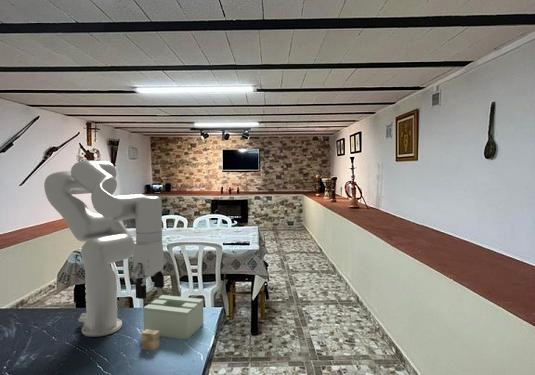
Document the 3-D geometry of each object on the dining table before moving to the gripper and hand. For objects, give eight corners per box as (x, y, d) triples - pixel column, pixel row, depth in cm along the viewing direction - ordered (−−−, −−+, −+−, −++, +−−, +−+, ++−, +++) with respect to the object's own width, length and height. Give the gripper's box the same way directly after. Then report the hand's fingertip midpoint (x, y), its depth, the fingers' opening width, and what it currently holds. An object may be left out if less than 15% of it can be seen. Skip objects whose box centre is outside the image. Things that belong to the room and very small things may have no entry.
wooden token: (141, 348, 109) (141, 332, 108) (146, 344, 111) (146, 329, 111) (155, 350, 108) (154, 334, 107) (159, 346, 110) (159, 330, 110)
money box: (143, 334, 118) (143, 307, 117) (162, 319, 129) (162, 294, 129) (187, 340, 114) (187, 312, 113) (203, 323, 126) (203, 299, 125)
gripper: (153, 231, 116) (155, 282, 117) (120, 242, 100) (121, 302, 101) (174, 232, 115) (175, 284, 116) (143, 243, 98) (145, 304, 99)
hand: (150, 292), depth 108 cm, fingers open, 9 cm apart
